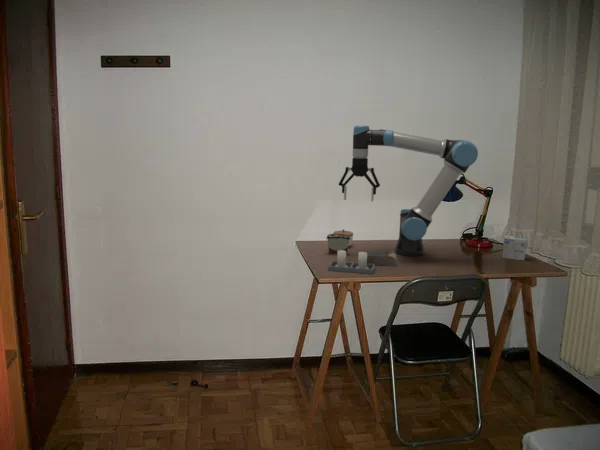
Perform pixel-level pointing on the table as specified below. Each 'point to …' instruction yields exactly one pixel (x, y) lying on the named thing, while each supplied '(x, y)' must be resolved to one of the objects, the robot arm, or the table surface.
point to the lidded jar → (346, 234)
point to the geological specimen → (382, 258)
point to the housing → (348, 265)
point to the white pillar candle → (362, 260)
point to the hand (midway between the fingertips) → (358, 200)
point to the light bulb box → (514, 248)
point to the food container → (337, 243)
